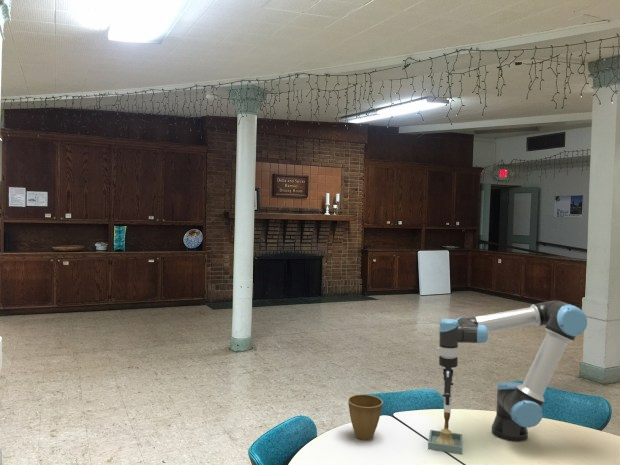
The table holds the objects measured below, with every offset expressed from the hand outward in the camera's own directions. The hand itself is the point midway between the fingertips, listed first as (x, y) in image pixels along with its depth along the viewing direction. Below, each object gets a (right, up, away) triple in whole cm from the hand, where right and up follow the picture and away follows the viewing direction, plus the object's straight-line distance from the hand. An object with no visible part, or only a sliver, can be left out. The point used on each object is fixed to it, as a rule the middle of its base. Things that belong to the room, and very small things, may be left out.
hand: (447, 406), depth 215 cm
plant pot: (-35, -16, +7) cm, 39 cm away
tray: (-1, -17, 0) cm, 17 cm away
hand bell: (-1, -16, 0) cm, 16 cm away
